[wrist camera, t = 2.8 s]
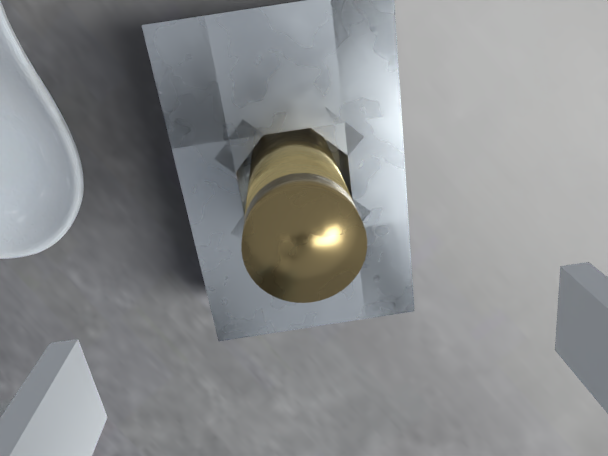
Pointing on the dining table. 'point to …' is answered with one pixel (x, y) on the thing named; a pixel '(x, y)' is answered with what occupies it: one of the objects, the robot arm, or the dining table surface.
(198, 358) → the dining table surface
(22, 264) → the dining table surface
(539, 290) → the dining table surface
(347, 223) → the gold capped cylinder
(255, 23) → the bore housing
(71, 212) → the spoon rest
